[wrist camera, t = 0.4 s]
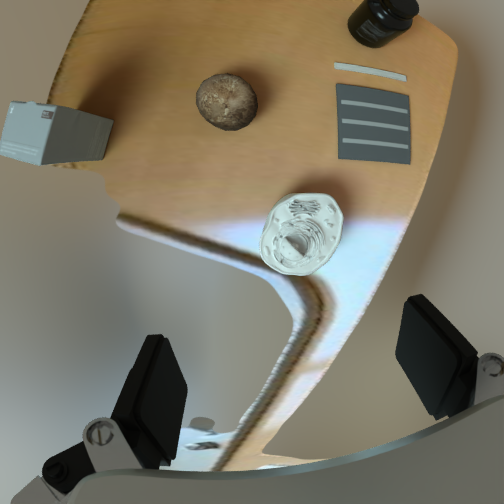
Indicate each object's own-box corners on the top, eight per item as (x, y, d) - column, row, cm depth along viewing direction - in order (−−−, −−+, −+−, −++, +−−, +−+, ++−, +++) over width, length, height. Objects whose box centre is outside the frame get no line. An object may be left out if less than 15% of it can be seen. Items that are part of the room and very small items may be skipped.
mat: (335, 84, 32) (337, 83, 32) (406, 96, 32) (408, 95, 32) (338, 158, 36) (339, 159, 35) (408, 164, 36) (410, 164, 36)
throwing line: (334, 62, 31) (334, 62, 31) (405, 76, 31) (405, 75, 31) (334, 68, 31) (335, 68, 31) (405, 81, 31) (406, 81, 31)
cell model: (348, 219, 39) (366, 232, 33) (291, 275, 42) (299, 297, 36) (301, 169, 37) (312, 173, 30) (241, 231, 39) (240, 247, 33)
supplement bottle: (393, 45, 29) (435, 22, 18) (359, 52, 30) (397, 25, 19) (372, 11, 27) (407, -20, 16) (338, 16, 28) (367, -20, 17)
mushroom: (252, 58, 28) (234, 70, 25) (274, 111, 33) (261, 130, 30) (201, 77, 32) (177, 92, 28) (224, 123, 37) (205, 144, 34)
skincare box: (64, 151, 34) (-6, 160, 19) (76, 107, 32) (7, 99, 17) (105, 162, 35) (37, 174, 20) (118, 115, 33) (53, 103, 18)
